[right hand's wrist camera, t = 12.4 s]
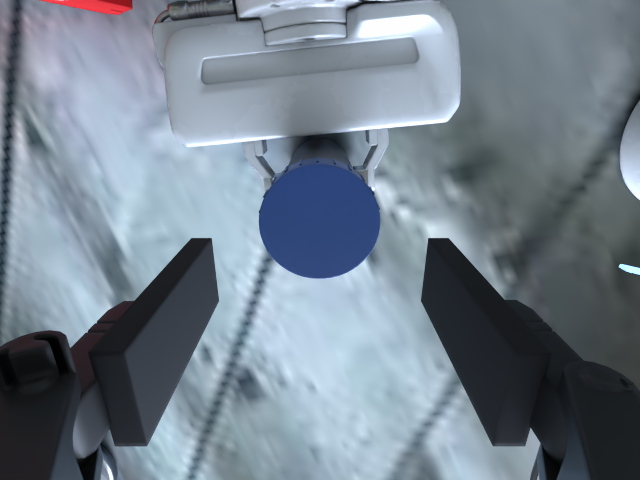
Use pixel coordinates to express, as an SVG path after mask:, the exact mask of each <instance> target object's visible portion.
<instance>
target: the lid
mask: <svg viewBox="0 0 640 480" xmlns="http://www.w3.org/2000/svg"><path fill="white" fill-rule="evenodd" d="M263 198H264V199H263V202H262V205H261V208H260V211H259V229H260V234H261V238H262V240H263V243H264V245H265V247H266V249H267V251H268V252H269V254H270V255H271V256H272V257H273V259H274V260H275V261H276V262H277V263H279V264H280V265H281V266H282V267H284V268H285V269H287V270H288V271H290V272H292V273H294V274H297V275H300V276H303V277H307V278H314V279H326V278H332V277H336V276H340V275H342V274H345V273H347V272H349V271H351V270H353V269H354V268H356V267H357V266H358V265H360V264H361V263H362V262H363V261H364V260H365V259H366V258H367V256H368V255H369V254H370V252H371V251H372V249H373V248H374V246H375V243H376V241H377V238H378V235H379V230H380V212H379V210H380V208H379V206H378V204H377V202H376V199H375V197H374V192H373V190H372V188H371V186H370V187H369V186H368V184H367V183H366V181H365V179H364V177H363V175H362V174H359V173H358V172H357V171H355V170H354V169H353V168H351V166H350V165H349V164H348V165H346V164H344V163H342V162H339V161H337V160H335V158H333V159H327V158H319V157H317V158H312V159H306V160H303V159H301V161H300V162H297V163H295V164H293V165H291V166H290V167H288V166H287V167H286V168H285V170H284V171H283V172H281V173H280V174H279V175H278V177H276V176H275V178H274V179H273V181H272V184H271V186H270V188H269V190H268V189H267V191H266V192H265V194H264V196H263Z"/></svg>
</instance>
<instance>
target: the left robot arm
mask: <svg viewBox="0 0 640 480" xmlns="http://www.w3.org/2000/svg"><path fill="white" fill-rule="evenodd" d="M168 17H170V18H171V19H172V20H173V21H169V22H163V21H164V20H165V19H167V18H168ZM202 17H203V18H202ZM194 18H196V19H194ZM152 35H153V40H154V45H155V49H156V53H157V57H158V60H159V63H160V65H161V66H162V68H163V69H164V76H165V88H166V98H167V106H168V112H169V118H170V124H171V129H172V132H173V134H174V136H175V137H176V138H177V139H178V140H179V141H181V142H182V143H183V144H184V145H185V146H187V147H195V146H205V145H216V144H226V143H236V142H243V147H244V153H245V158H246V159H247V161H248V162H249V163H250V164H251V166H252V167H253V168H254V169H255V171H256V172H257V173H258V174H259V176H260V177H261V178H262V179H264V184H265V191H267V189H268V190H269V188H270V186H271V184H272V181H273V179H274V178H275V176H276V177H278V175H279V174H280V173H275V174H274V171H273V170H272V169H271V167H270V166H269V164H268V163H267V162H266V160H265V159H264V158H263V155H264V153H265V152H266V151H267V144H266V140H267V139H278V138H288V137H298V136H309V135H319V134H329V133H340V132H350V131H360V130H366V141H367V142H368V143H369V144H370V145H372V147H371V149H370V151H369V153H368V155H367V157H366V159H365V161H364V163H363V165H361V166H353V169H354V170H355V171H357V172H358V173H359V174H362V175H363V177H364V179H365V181H366V183H367V184H368V186H369V187H370V186H371V188H372V190H373V191H374V190H375V180H374V168H376V167H377V165H378V163H379V161H380V159H381V157H382V156H383V154H384V152H385V150H386V148H387V146H388V128H391V127H401V126H412V125H422V124H432V123H442V122H447V121H448V120H449V119H450V118H451V117H452V115H453V114H454V113H455V111H456V110H457V108H458V106H459V103H460V92H461V70H460V50H459V40H458V31H457V26H456V22H455V19H454V17H453V14H452V13H451V11H450V10H449V8H448V7H447V6H446V5H445V4H443V3H442V2H440V1H438V0H199V1H195V2H194V1H191V2H188V1H185V0H184V1H176V2H172V3H170V4H168V10H165V11H164V12H162V13H161V14H160V15H159V16H158V17H157V19H156V20H155V23H154V25H153V28H152ZM620 167H621V172H622V175H623V178H624V181H625V183H626V185H627V187H628V188H629V189H630V191H631V192H632V193H633V194H634V195H635V196H636V197H637V198H638V199H639V200H640V100H639V102H638V103H637V105H636V106H635V108H634V110H633V112H632V113H631V115H630V117H629V120H628V122H627V124H626V127H625V130H624V133H623V137H622V141H621V146H620ZM619 267H620V268H622V269H624V270H625V271H627V272H631V273H636V274H640V268H636V267H631V266H627V265H623V264H620V266H619Z"/></svg>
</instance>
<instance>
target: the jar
mask: <svg viewBox="0 0 640 480" xmlns="http://www.w3.org/2000/svg"><path fill="white" fill-rule="evenodd" d="M317 157H319V158H327V159H333V158H335V160H337V161H339V162H342V163H344V164H346V165H348V164H349V165H350V166H351V164H350V162H349V160H348V158H347V155H346V153H345V152H344V150H343V149H342V148H341V147H340V146H339V145H338V144H337V143H335V142H333V141H331V140H329V139H325V138H315V139H311V140H308V141H306V142H304V143H303V144H302V145H300V146H299V147H298V148H297V150H296V151H295V153H294V155H293V157H292V159H291V161H290V163H289V165H288V167H290V166H291V165H293V164H295V163H297V162H300V161H301V159H303V160H306V159H312V158H317ZM351 168H352V166H351Z"/></svg>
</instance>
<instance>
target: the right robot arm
mask: <svg viewBox="0 0 640 480" xmlns="http://www.w3.org/2000/svg"><path fill="white" fill-rule="evenodd" d="M218 302H219V297H218V289H217V280H216V272H215V263H214V255H213V246H212V238H191V239H190V240H189V242H188V243H187V244H186V245H185V246H184V247H183V248H182V249H181V250H180V251H179V253H178V254H177V255H176V256H175V257H174V258H173V259H172V260H171V261H170V262H169V264H168V265H167V266H166V267H165V268H164V269H163V270H162V271H161V272H160V273H159V275H158V276H157V277H156V278H155V279H154V280H153V281H152V282H151V283H150V284H149V286H148V287H147V288H146V289H145V290H144V291H143V292H142V293H141V294H140V295H139V297H138V298H137V299H136V300H135V301H123V302H122V303H120V304H118V305H117V306H115V307H113V308H111V309H110V310H108V311H107V312H106V313H105V314H104V315H103V316H102V317H101V318H100V319H99V320H98V321H97V324H94V325H93V326H92V327H91V328H90V329H89V330H88V333H85V334H84V335H83V336H82V337H81V338H80V339H79V340H78V341H77V342H76V343H75V344H74V345H73V346H72V347H71V348H70V347H69V344H68V341H67V337H66V335H64V334H63V333H61V332H59V331H50V330H49V331H41V332H35V333H31V334H28V335H24V336H21V337H19V338H16V339H14V340H12V341H9V342H7V343H6V344H4V345H2V346H1V347H0V480H117V474H118V473H117V467H116V464H115V461H114V459H113V457H112V456H111V454H110V453H109V452H108V451H107V450H106V448H105V447H104V446H102V445H101V444H100V443H101V442H102V440H103V438H104V437H105V435H106V434H107V432H108V431H109V429H110V431H111V434H112V438H113V441H114V444H115V446H147V445H148V443H149V441H150V439H151V437H152V435H153V433H154V431H155V429H156V427H157V425H158V423H159V421H160V419H161V417H162V415H163V413H164V411H165V409H166V407H167V405H168V403H169V401H170V399H171V397H172V395H173V393H174V391H175V389H176V387H177V385H178V383H179V381H180V379H181V377H182V375H183V372H184V370H185V368H186V366H187V364H188V362H189V360H190V358H191V356H192V354H193V352H194V350H195V348H196V346H197V344H198V342H199V340H200V338H201V336H202V334H203V332H204V330H205V328H206V326H207V324H208V322H209V320H210V318H211V316H212V314H213V312H214V310H215V308H216V306H217V304H218ZM421 302H422V304H423V306H424V308H425V310H426V312H427V314H428V316H429V318H430V320H431V322H432V324H433V326H434V328H435V330H436V332H437V334H438V336H439V338H440V340H441V342H442V344H443V346H444V348H445V350H446V352H447V354H448V356H449V358H450V360H451V362H452V364H453V366H454V368H455V370H456V372H457V375H458V377H459V379H460V381H461V383H462V385H463V387H464V389H465V391H466V393H467V395H468V397H469V399H470V401H471V403H472V405H473V407H474V409H475V411H476V413H477V415H478V417H479V419H480V421H481V423H482V425H483V427H484V429H485V431H486V433H487V435H488V437H489V439H490V441H491V443H492V445H493V446H525V444H526V441H527V438H528V434H529V431H530V427H531V429H532V430H533V432H534V433H535V435H536V436H537V438H538V440H539V441H540V443H541V444H540V447H539V450H538V453H537V457H536V460H535V463H534V466H533V470H532V473H531V478H530V480H537V477H538V475H539V480H640V391H639V390H638V389H637V387H636V386H635V385H634V383H633V382H632V381H630V380H629V379H628V378H626V377H625V376H624V375H622V374H621V373H619V372H617V371H615V370H613V369H611V368H609V367H607V366H604V365H601V364H597V363H594V362H588V361H584V360H583V359H582V358H581V357H580V356H579V355H578V354H577V353H576V352H575V351H574V350H573V349H572V348H571V347H570V346H569V345H568V344H567V343H566V342H565V341H564V340H563V339H562V338H561V337H560V336H559V335H558V334H557V333H556V332H553V331H552V328H551V327H550V326H549V325H548V324H547V323H546V322H543V319H542V318H541V317H540V316H539V315H538V314H537V313H536V312H535V311H534V310H533V309H531V308H529V307H528V306H526V305H524V304H522V303H521V302H519V301H517V300H504V299H503V298H502V297H501V295H500V294H499V293H498V292H497V291H496V290H495V289H494V288H493V287H492V286H491V284H490V283H489V282H488V281H487V280H486V279H485V278H484V277H483V276H482V275H481V273H480V272H479V271H478V270H477V269H476V268H475V267H474V266H473V265H472V264H471V262H470V261H469V260H468V259H467V258H466V257H465V256H464V255H463V254H462V253H461V251H460V250H459V249H458V248H457V247H456V246H455V245H454V244H453V243H452V242H451V240H450V239H449V238H428V246H427V255H426V263H425V272H424V280H423V289H422V297H421Z"/></svg>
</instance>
